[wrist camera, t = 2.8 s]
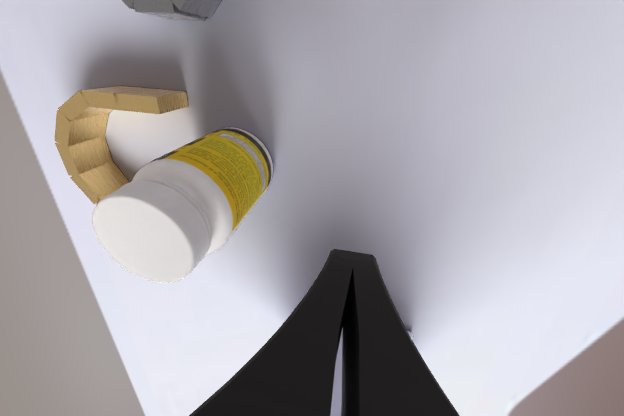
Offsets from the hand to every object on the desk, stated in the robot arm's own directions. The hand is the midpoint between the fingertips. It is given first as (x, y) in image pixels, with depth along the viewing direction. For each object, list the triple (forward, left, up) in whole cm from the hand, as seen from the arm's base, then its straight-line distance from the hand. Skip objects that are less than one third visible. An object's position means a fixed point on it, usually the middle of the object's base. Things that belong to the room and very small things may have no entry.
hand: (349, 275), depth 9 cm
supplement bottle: (+7, 0, -9) cm, 11 cm away
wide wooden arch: (+13, 0, -8) cm, 16 cm away
